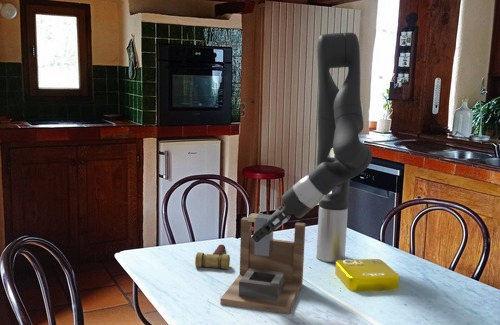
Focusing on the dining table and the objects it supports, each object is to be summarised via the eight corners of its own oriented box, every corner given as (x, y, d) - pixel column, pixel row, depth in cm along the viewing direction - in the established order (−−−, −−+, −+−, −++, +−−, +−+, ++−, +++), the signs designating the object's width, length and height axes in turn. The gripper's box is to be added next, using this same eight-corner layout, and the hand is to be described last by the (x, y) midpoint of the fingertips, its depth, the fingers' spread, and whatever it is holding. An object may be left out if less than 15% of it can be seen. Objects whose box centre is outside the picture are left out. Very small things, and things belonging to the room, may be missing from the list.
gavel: (209, 238, 182) (237, 240, 180) (208, 251, 182) (237, 253, 181) (195, 254, 161) (227, 256, 160) (194, 269, 161) (227, 271, 160)
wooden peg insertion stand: (241, 276, 156) (243, 216, 153) (302, 284, 152) (305, 223, 149) (220, 303, 137) (221, 236, 134) (288, 314, 133) (292, 244, 130)
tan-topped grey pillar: (250, 249, 143) (251, 213, 142) (272, 251, 142) (273, 215, 140) (246, 253, 140) (247, 216, 138) (269, 256, 138) (270, 219, 136)
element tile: (349, 293, 147) (350, 276, 147) (333, 273, 162) (334, 258, 161) (400, 291, 150) (402, 275, 149) (379, 271, 164) (380, 256, 164)
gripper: (299, 179, 142) (254, 219, 147) (288, 190, 129) (239, 233, 134) (317, 201, 142) (272, 239, 147) (309, 213, 128) (259, 256, 133)
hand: (256, 236), depth 140 cm, fingers closed on tan-topped grey pillar, 4 cm apart
